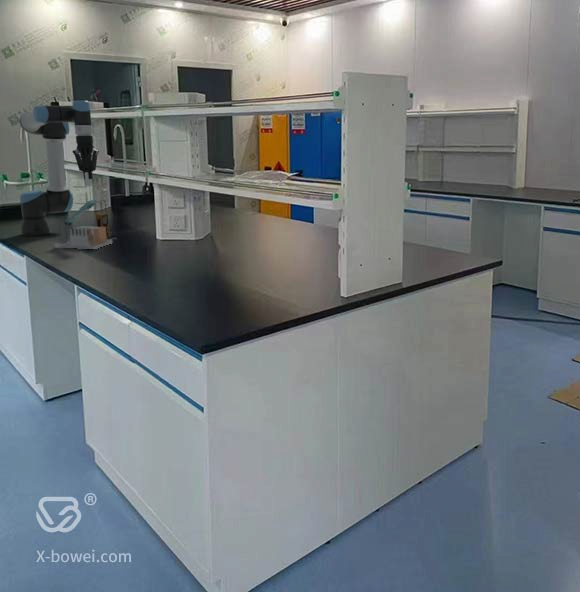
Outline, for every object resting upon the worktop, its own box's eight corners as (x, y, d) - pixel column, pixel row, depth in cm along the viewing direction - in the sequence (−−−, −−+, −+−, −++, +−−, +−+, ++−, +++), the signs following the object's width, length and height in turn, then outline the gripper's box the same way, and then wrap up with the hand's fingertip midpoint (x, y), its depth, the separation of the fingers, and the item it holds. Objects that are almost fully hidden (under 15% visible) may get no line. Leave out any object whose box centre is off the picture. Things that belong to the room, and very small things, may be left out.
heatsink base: (54, 248, 302) (52, 223, 299) (74, 241, 317) (71, 218, 314) (94, 250, 297) (92, 225, 293) (112, 243, 311) (110, 220, 308)
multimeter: (113, 241, 318) (109, 202, 312) (95, 240, 320) (91, 201, 314) (125, 236, 332) (122, 198, 326) (108, 235, 334) (105, 198, 328)
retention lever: (62, 227, 304) (59, 224, 304) (69, 225, 310) (67, 222, 309) (90, 204, 296) (88, 200, 296) (97, 202, 302) (95, 199, 302)
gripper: (67, 135, 289) (72, 186, 295) (91, 135, 286) (96, 187, 292) (76, 135, 296) (81, 185, 302) (100, 134, 292) (105, 185, 299)
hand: (89, 186), depth 297 cm, fingers closed
